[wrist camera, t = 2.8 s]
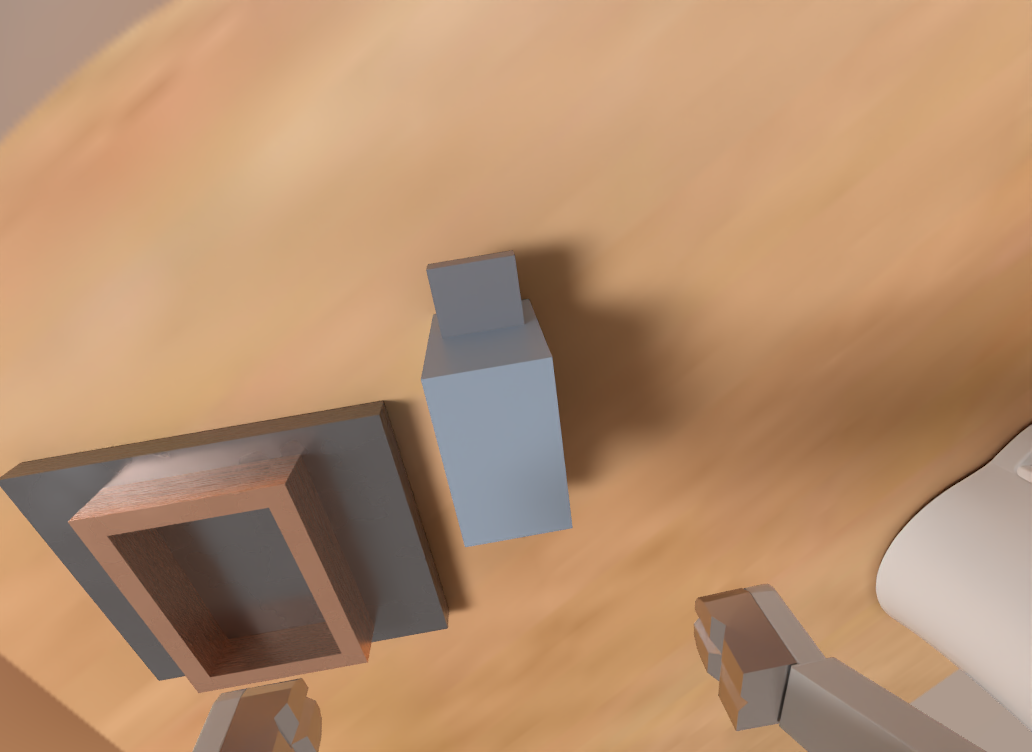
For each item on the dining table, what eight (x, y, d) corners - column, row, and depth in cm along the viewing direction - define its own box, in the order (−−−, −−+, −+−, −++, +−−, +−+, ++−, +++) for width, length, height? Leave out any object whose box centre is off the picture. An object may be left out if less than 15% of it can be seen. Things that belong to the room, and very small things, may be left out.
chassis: (383, 400, 21) (370, 441, 18) (448, 609, 27) (446, 663, 24) (20, 463, 21) (-52, 514, 18) (170, 659, 27) (136, 720, 24)
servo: (520, 237, 19) (542, 276, 13) (553, 478, 24) (578, 575, 19) (419, 253, 18) (400, 300, 13) (474, 491, 24) (477, 593, 19)
